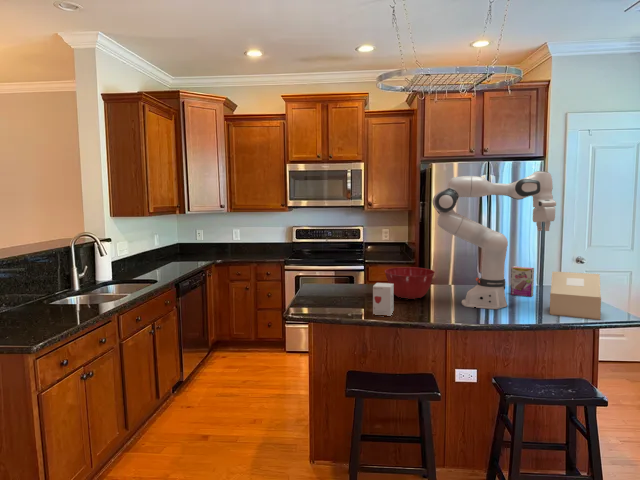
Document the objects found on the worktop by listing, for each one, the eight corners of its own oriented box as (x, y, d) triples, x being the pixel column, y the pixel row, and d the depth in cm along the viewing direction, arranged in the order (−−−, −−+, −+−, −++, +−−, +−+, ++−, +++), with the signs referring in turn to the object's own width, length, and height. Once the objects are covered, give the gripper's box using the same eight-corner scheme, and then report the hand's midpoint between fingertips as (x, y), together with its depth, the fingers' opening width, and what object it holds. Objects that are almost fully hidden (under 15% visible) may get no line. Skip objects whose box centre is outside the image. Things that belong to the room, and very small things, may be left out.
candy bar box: (510, 295, 237) (510, 267, 236) (512, 293, 241) (513, 265, 240) (531, 297, 230) (532, 268, 229) (533, 295, 234) (534, 267, 233)
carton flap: (552, 272, 205) (552, 271, 204) (599, 274, 194) (599, 273, 194) (550, 294, 195) (550, 293, 195) (600, 298, 185) (600, 297, 184)
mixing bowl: (445, 297, 236) (445, 270, 235) (412, 305, 219) (412, 277, 218) (407, 289, 259) (407, 265, 257) (374, 296, 242) (374, 270, 240)
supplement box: (372, 315, 201) (372, 285, 200) (376, 311, 210) (376, 282, 208) (390, 317, 198) (390, 286, 197) (394, 312, 206) (393, 283, 205)
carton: (551, 306, 209) (551, 287, 209) (598, 311, 199) (599, 291, 198) (549, 314, 196) (550, 293, 195) (600, 319, 185) (601, 298, 185)
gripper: (529, 205, 217) (529, 231, 218) (543, 202, 197) (544, 231, 197) (541, 204, 216) (542, 230, 216) (557, 201, 196) (558, 230, 196)
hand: (543, 230), depth 207 cm, fingers open, 8 cm apart
